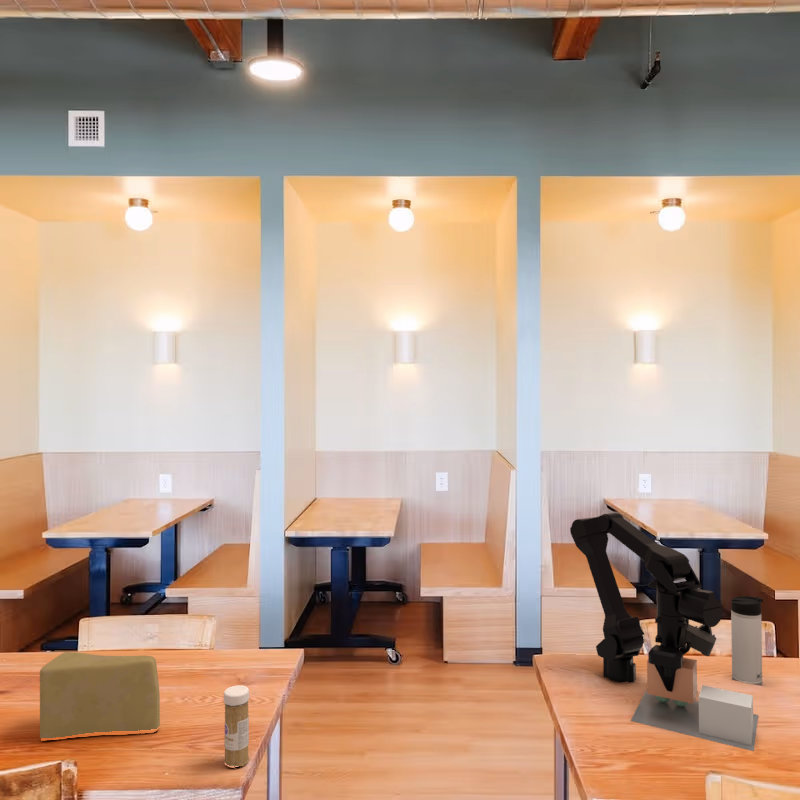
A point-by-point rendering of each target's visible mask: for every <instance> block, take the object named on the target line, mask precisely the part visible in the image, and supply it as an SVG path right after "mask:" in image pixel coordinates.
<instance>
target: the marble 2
mask: <svg viewBox="0 0 800 800" xmlns="http://www.w3.org/2000/svg"><path fill="white" fill-rule="evenodd" d="M674 702H675V703H676V705H678V706H680V707H684V706H686V705H687V704H688V703H687V702H682V701H678V700H674Z"/></svg>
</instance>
